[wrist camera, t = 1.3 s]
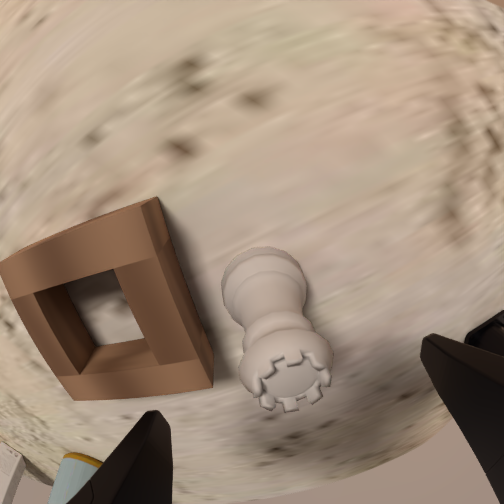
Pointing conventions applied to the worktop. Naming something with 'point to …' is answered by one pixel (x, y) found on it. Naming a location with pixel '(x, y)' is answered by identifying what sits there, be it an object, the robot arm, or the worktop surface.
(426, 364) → the robot arm
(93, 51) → the worktop surface
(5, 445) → the skincare box
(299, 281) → the rook chess piece
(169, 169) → the worktop surface
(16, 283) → the socket
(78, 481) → the bottle
